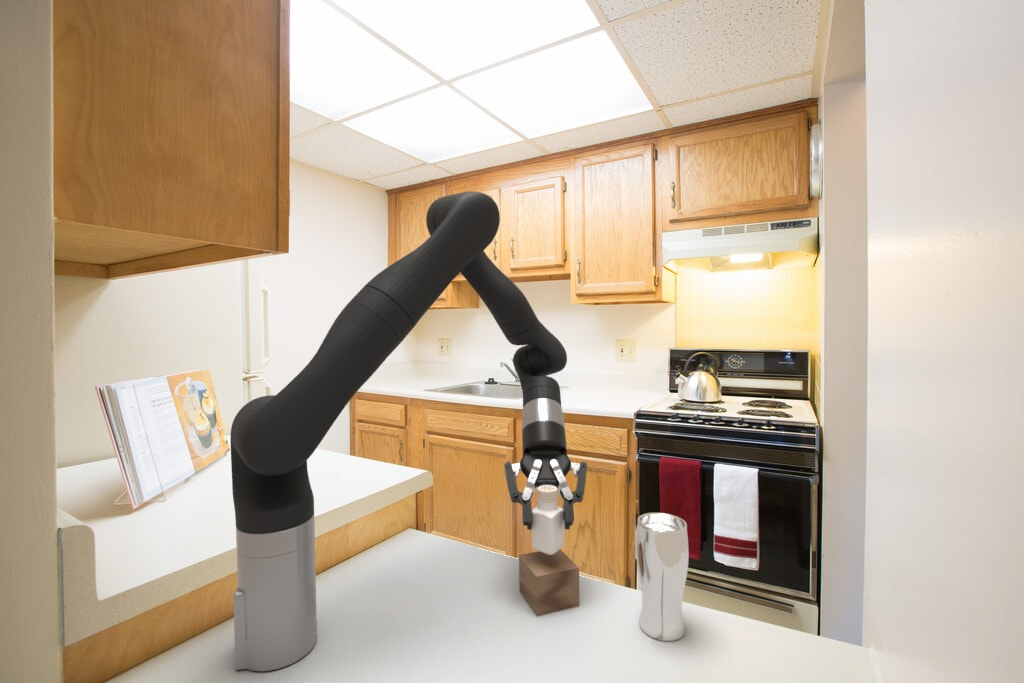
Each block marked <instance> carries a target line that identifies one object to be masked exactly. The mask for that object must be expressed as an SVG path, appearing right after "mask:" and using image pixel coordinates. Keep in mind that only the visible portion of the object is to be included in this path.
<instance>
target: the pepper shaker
mask: <svg viewBox="0 0 1024 683" xmlns="http://www.w3.org/2000/svg"><path fill="white" fill-rule="evenodd" d="M536 500H537V506H535V507H534V508H533V509H532V530H530V531H531V548H532V549H533V550H534V551H536V552H538V551H540V552H543V553H546V554H549V555H553V554H554V553H556V552H557V551H558V550H560V549H561V550H562V549H563V547H564V546H565V526H564V510H563V507H561V506H559V505H558V501H559V493H558V488H557V487H556V486H553V485H542V486H539V487H538V488H537V487H536Z"/></svg>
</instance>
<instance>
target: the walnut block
mask: <svg viewBox="0 0 1024 683" xmlns="http://www.w3.org/2000/svg"><path fill="white" fill-rule="evenodd" d="M518 576H519V577H518V579H519V580H518V582H519V583H518V585H519V586H518V588H519V589H518V590H519V594H521V596H522V597H523V599H524V600H525V602H526V603H527V605H528V606H529V608H530V609H531V611H532V612H533V613H534V615H535V616H536V617H540V616H544V615H548V614H552V613H557V612H561V611H565V610H570V609H573V608H579V607H580V567H579V566H578V565H577V564H576V563H575V562H574V561H573V560H572V559H571V558H569V556H568V555H567V554H566V553H565V552H564V551H563V550H562V548H561V549H560V550H558V551H557V552H556V553H554V554H553V555H549V554H546V553H543V552H540V551H535V552H534V551H533V552H528V553H523V554H519V555H518Z"/></svg>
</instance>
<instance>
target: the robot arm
mask: <svg viewBox="0 0 1024 683" xmlns="http://www.w3.org/2000/svg"><path fill="white" fill-rule="evenodd" d="M425 220H426V222H425V223H426V228H427V232H428V233H429V237H428V238H427V239H426V240H425V241H424V242H423V243H422V244H421V245H419V246H417V248H415V249H414V250H412V251H410V252H409V253H408V254H406V255H405V256H403V257H401V258H400V259H398V260H397V261H395V262H393V263H392V264H390V265H389V266H388V267H386V268H384V269H383V270H382V271H380V272H378V273H377V274H376V275H374V277H373V278H371V279H370V280H369V281H368V282H367V283H366V284H365V285H363V287H362V288H361V289H360V290H359V291H358V292H357V293H356V294H355V295H354V296H353V297H352V298H351V299H350V300H349V302H348V303H347V304H345V307H344V308H343V309H342V310H341V311H340V313H339V314H338V315H337V317H336V318H335V320H334V321H333V323H332V325H331V326H330V328H329V330H328V331H327V333H326V335H325V337H324V338H323V340H322V342H321V344H320V346H319V348H318V349H317V350H316V352H315V354H314V355H313V357H312V358H311V360H310V361H309V362H308V364H307V365H306V366H305V367H304V368H302V370H301V371H300V372H298V374H297V375H296V376H295V377H294V378H293V379H292V380H290V382H289V383H288V384H287V385H285V387H283V388H282V389H281V390H280V391H279V392H278V393H276V394H274V395H273V394H272V395H262V396H259V397H256V398H254V399H252V400H250V401H248V402H247V403H246V404H245V405H243V406H242V407H241V408H240V409H239V410H238V412H237V413H236V415H235V417H234V419H233V421H232V423H231V426H230V427H231V428H230V464H231V485H232V500H233V506H234V515H235V516H234V517H235V518H234V519H235V530H236V532H235V535H236V536H235V537H236V539H235V540H236V569H237V570H236V572H237V579H236V580H237V586H236V589H235V591H234V593H233V625H234V626H233V628H234V629H233V630H234V631H233V632H234V656H235V658H234V659H235V660H234V661H235V663H234V664H235V665H234V666H235V667H234V668H235V671H239V670H248V671H249V670H250V671H254V672H268V671H274V670H279V669H282V668H284V667H287V666H290V665H292V664H294V663H296V662H298V661H300V660H301V659H302V658H304V657H305V656H306V655H308V654H309V653H310V652H311V650H313V648H314V647H315V645H316V644H317V640H318V619H317V613H318V612H317V585H316V584H317V578H316V534H315V530H316V528H315V526H316V525H315V497H314V492H313V490H312V486H311V482H310V478H309V472H308V459H309V458H310V457H311V456H312V455H313V454H314V452H315V451H316V450H317V448H318V447H319V445H320V444H321V442H322V441H323V440H324V438H325V437H326V435H327V434H328V433H329V431H330V429H331V428H332V426H333V425H334V423H335V422H336V420H338V417H339V416H340V415H341V413H342V412H343V411H344V409H345V407H346V406H347V405H348V404H349V402H350V400H352V398H353V397H354V396H355V394H356V393H357V392H358V391H359V390H360V389H361V387H363V385H365V383H367V381H368V380H369V379H370V378H371V377H372V376H373V375H374V373H375V372H377V370H378V369H379V368H380V367H381V365H382V364H383V363H384V362H385V361H386V359H387V358H388V357H389V356H390V355H391V354H392V353H393V352H394V351H395V350H396V349H397V348H398V346H400V344H402V342H403V341H404V340H405V338H406V337H407V336H408V335H409V334H410V333H411V332H412V330H413V329H414V328H415V327H416V326H417V324H418V322H419V321H420V320H421V319H422V318H423V316H424V315H425V314H426V313H427V312H428V310H429V309H430V308H431V307H432V306H433V305H434V303H435V302H436V301H437V300H438V299H439V297H440V296H442V294H443V293H444V292H445V290H446V289H447V287H449V285H450V284H451V283H452V282H453V280H455V279H456V277H458V275H459V274H461V275H462V276H463V278H464V279H465V280H466V281H467V283H468V284H469V285H470V286H471V287H472V289H473V290H474V291H475V293H476V294H477V295H478V297H479V298H480V299H481V301H482V302H483V303H484V305H485V306H486V308H487V310H488V311H489V312H490V314H491V316H492V317H493V320H495V322H496V324H497V326H498V327H499V329H500V330H501V332H502V333H503V335H504V337H505V338H506V340H507V341H508V342H509V344H511V345H513V346H520V347H519V348H517V349H516V351H515V353H514V354H513V357H512V363H513V367H514V369H515V373H516V374H517V377H518V379H519V383H520V387H521V391H522V415H521V416H522V417H521V437H522V439H521V442H522V443H521V444H522V445H521V446H522V447H521V449H522V450H521V451H522V458H521V460H520V461H519V462H518V463H517V462H516V463H511V462H510V461H509V462H505V463H504V476H505V480H506V484H507V489H508V493H509V496H510V497H509V498H510V501H511V502H512V503H514V504H516V503H517V504H520V505H521V507H522V525H523V526H526V529H527V530H530V531H531V530H532V510H533V509H532V499H533V496H534V494H535V492H536V491H537V488H538V487H539V486H542V485H553V486H556V487H557V488H558V496H560V498H561V500H562V502H563V505H562V509H563V510H564V530H570V528H571V526H574V521H575V512H574V504H575V503H582V502H583V498H584V495H585V486H586V480H587V471H588V463H587V462H586V461H581V462H580V463H577V462H572V461H571V460H570V458H569V455H568V449H567V437H566V427H565V426H566V425H565V416H564V412H563V408H562V398H561V397H562V396H561V388H560V385H559V382H558V381H557V380H556V379H555V378H553V377H551V376H550V375H553V374H556V373H559V372H561V371H564V369H565V368H566V365H567V362H568V355H567V351H566V348H565V347H564V345H563V344H562V343H561V341H560V340H559V339H558V338H557V337H556V336H555V335H554V334H553V333H552V332H551V331H550V330H549V329H547V328H546V326H545V325H544V324H542V322H541V321H540V320H539V319H538V317H537V314H536V313H535V311H534V310H533V308H532V306H531V304H530V302H529V300H528V298H527V297H526V296H525V294H524V293H523V291H522V290H521V289H520V288H519V287H518V286H517V285H516V284H515V283H514V281H512V280H511V279H510V278H509V277H508V276H507V275H506V274H504V273H503V272H502V271H501V270H500V269H499V268H498V266H497V265H496V264H495V263H494V262H493V261H492V260H491V258H490V257H489V256H488V254H487V253H486V252H485V251H484V250H486V249H487V248H488V247H489V246H490V244H492V242H493V240H494V239H495V237H496V235H497V233H498V230H499V227H500V220H501V216H500V211H499V207H498V204H497V203H496V201H495V200H494V199H493V198H492V197H491V196H490V195H489V194H486V193H484V192H480V191H475V190H474V191H471V190H468V191H462V192H459V193H454V194H453V193H452V194H448V195H444V196H441V197H438V198H437V199H435V200H434V201H433V202H432V203H431V204H430V206H429V207H428V210H427V212H426V218H425ZM520 471H521V472H522V473H523V476H525V477H526V478H527V480H526V485H525V488H524V490H523V492H522V491H519V488H518V484H517V481H516V479H517V478H518V477H519V472H520ZM570 471H572V473H573V476H574V478H576V479H577V481H576V489H575V491H571V489H570V486H569V485H568V482H567V479H566V476H567V475H568V474H569V472H570Z"/></svg>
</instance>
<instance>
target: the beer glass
mask: <svg viewBox="0 0 1024 683" xmlns="http://www.w3.org/2000/svg"><path fill="white" fill-rule="evenodd" d="M636 526H637V527H636V541H635V544H636V545H635V551H636V552H635V554H636V565H637V566H636V567H637V572H638V578H639V582H640V583H639V584H640V588H641V599H642V600H641V601H642V602H641V611H640V615H639V622H638V623H639V627H640V629H641V630H642V631H643V633H644V634H645V635H647V636H648V637H650V638H653V639H655V640H658V641H664V642H675V641H678V640H681V639H682V638H683V637H684V635H685V633H686V629H685V628H686V626H685V621H684V617H683V597H684V591H685V587H686V582H687V577H688V569H689V556H690V555H689V537H688V524H687V522H686V521H685V520H684V519H683V518H681V517H679V516H677V515H674V514H670V513H666V512H647V513H646V512H645V513H643V514H641V515H639V516H638V517H637V525H636Z"/></svg>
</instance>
